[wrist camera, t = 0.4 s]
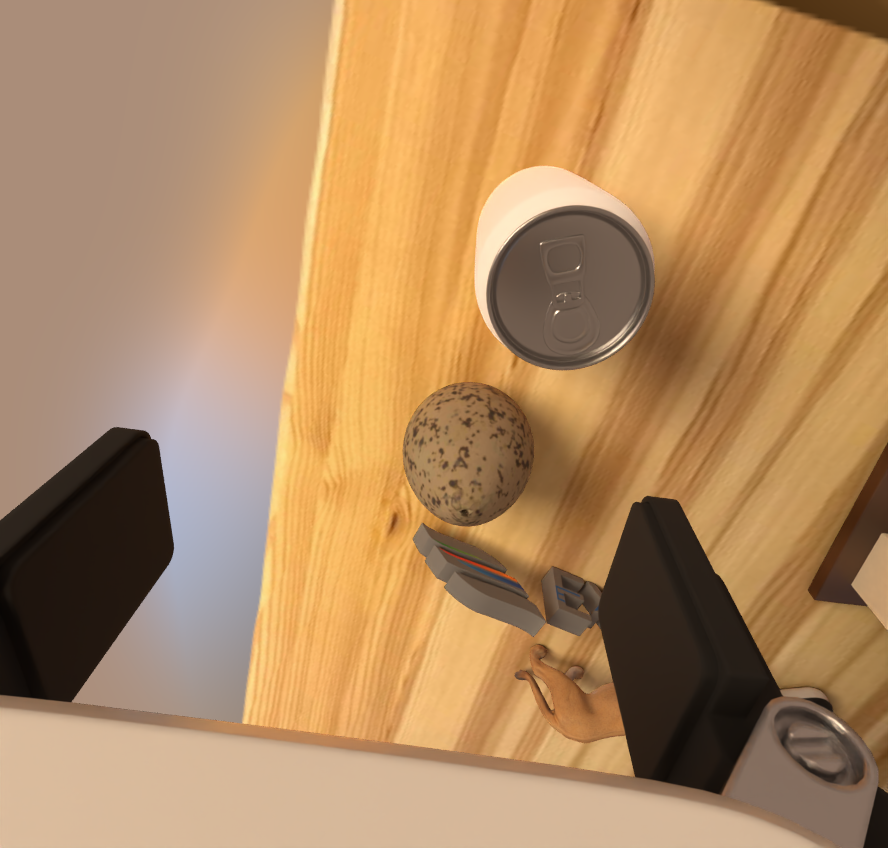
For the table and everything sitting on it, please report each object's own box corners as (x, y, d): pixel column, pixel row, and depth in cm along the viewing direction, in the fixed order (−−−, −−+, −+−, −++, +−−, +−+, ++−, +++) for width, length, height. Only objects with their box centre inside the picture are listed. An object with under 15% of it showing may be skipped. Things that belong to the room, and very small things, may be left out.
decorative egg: (465, 482, 37) (459, 593, 28) (388, 409, 35) (356, 505, 26) (551, 418, 35) (575, 519, 26) (474, 336, 32) (471, 415, 24)
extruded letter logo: (414, 527, 39) (404, 586, 34) (423, 511, 39) (415, 569, 34) (711, 650, 43) (740, 719, 38) (724, 638, 42) (756, 706, 37)
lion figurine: (696, 608, 41) (747, 723, 33) (708, 656, 43) (758, 775, 36) (504, 648, 44) (509, 762, 37) (524, 691, 47) (533, 807, 39)
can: (488, 303, 31) (490, 394, 21) (466, 180, 29) (456, 214, 18) (606, 281, 31) (671, 365, 20) (596, 151, 28) (666, 169, 17)
